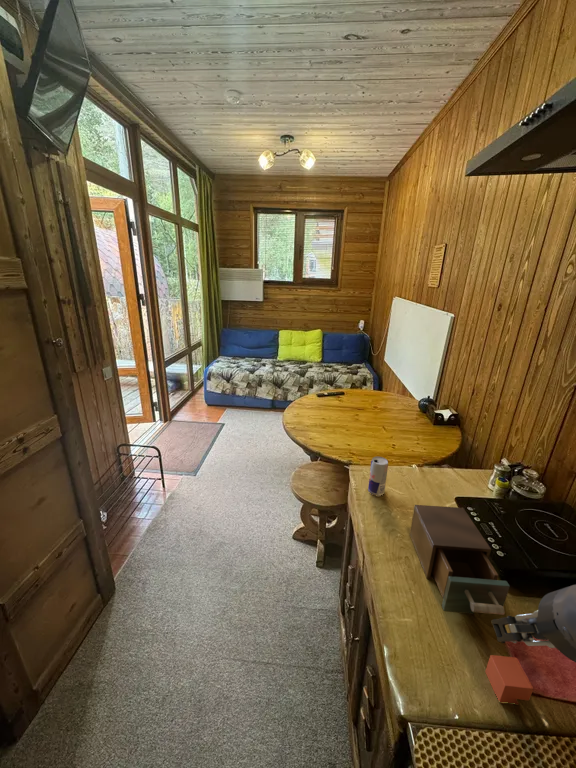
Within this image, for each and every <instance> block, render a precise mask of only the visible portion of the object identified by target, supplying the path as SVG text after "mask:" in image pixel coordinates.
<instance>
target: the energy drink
mask: <svg viewBox="0 0 576 768" xmlns="http://www.w3.org/2000/svg"><path fill="white" fill-rule="evenodd" d="M388 469H389V461H388V459H387V458H385V457H383V456H374V457H372V458H371V461H370V468H369V476H368V477H369V478H368V486H367V491H368V492H370V493H371V494H370V493H369V494H370V495H372V494H373V495H377V496H376V497H382V496H384V495H385V492H386V484H387V477H388ZM383 494H384V495H383ZM373 495H372V496H373ZM381 495H382V496H381Z"/></svg>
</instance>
